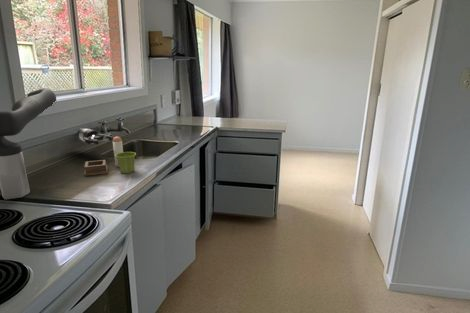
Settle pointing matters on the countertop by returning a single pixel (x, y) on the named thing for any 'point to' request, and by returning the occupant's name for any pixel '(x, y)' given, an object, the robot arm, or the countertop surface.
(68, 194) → the countertop surface
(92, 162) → the box
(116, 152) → the capped white tube
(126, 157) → the plant pot
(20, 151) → the robot arm
